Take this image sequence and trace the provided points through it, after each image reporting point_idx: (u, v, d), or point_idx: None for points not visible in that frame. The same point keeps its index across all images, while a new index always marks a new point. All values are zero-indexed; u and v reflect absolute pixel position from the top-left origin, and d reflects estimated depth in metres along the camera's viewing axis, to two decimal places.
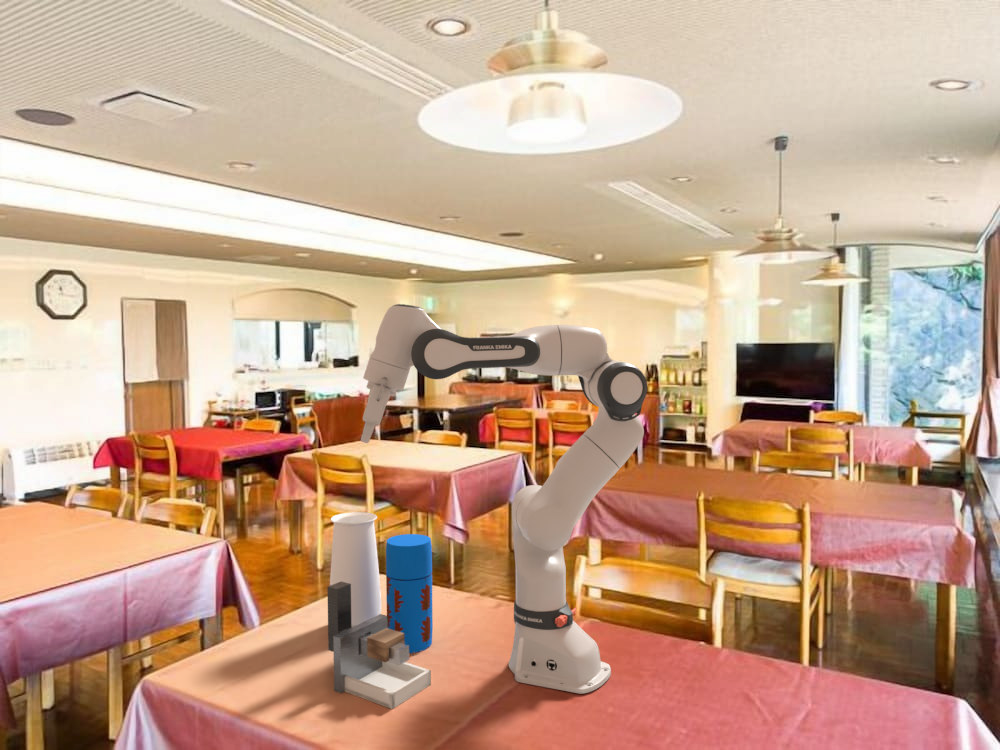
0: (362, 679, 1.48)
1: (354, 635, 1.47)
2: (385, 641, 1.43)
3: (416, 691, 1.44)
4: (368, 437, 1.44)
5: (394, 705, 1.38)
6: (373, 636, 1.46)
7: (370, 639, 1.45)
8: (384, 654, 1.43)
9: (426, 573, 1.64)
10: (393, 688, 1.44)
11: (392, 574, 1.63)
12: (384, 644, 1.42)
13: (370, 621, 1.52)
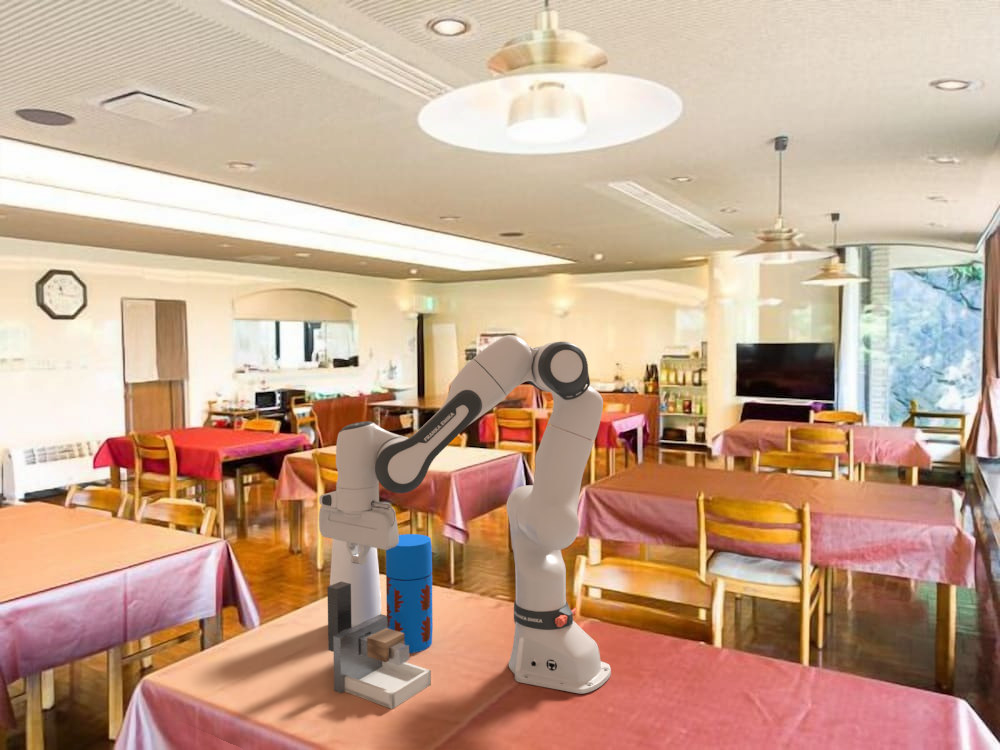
0: (362, 679, 1.48)
1: (354, 635, 1.47)
2: (385, 641, 1.43)
3: (416, 691, 1.44)
4: (364, 557, 1.49)
5: (394, 705, 1.38)
6: (373, 636, 1.46)
7: (370, 639, 1.45)
8: (384, 654, 1.43)
9: (426, 573, 1.64)
10: (393, 688, 1.44)
11: (392, 574, 1.63)
12: (384, 644, 1.42)
13: (370, 621, 1.52)
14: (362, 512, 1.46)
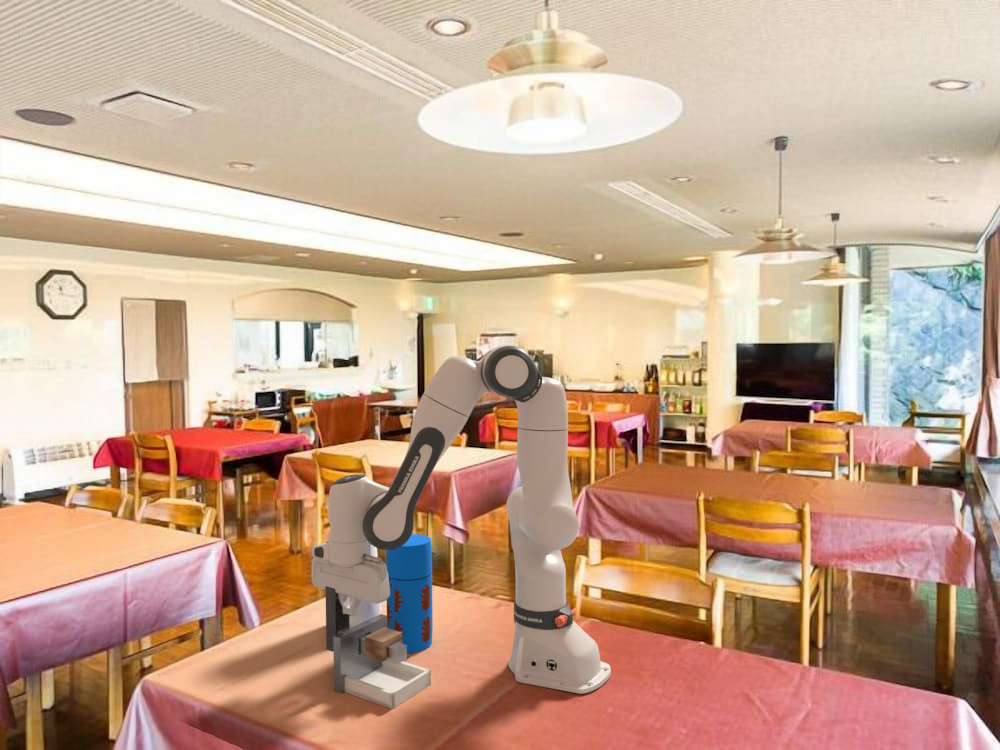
0: (362, 679, 1.48)
1: (354, 635, 1.47)
2: (383, 640, 1.43)
3: (416, 691, 1.44)
4: (356, 609, 1.51)
5: (394, 705, 1.38)
6: (371, 635, 1.46)
7: (368, 638, 1.45)
8: (382, 653, 1.43)
9: (426, 573, 1.64)
10: (393, 688, 1.44)
11: (393, 574, 1.63)
12: (381, 643, 1.43)
13: (370, 621, 1.52)
14: (354, 565, 1.48)
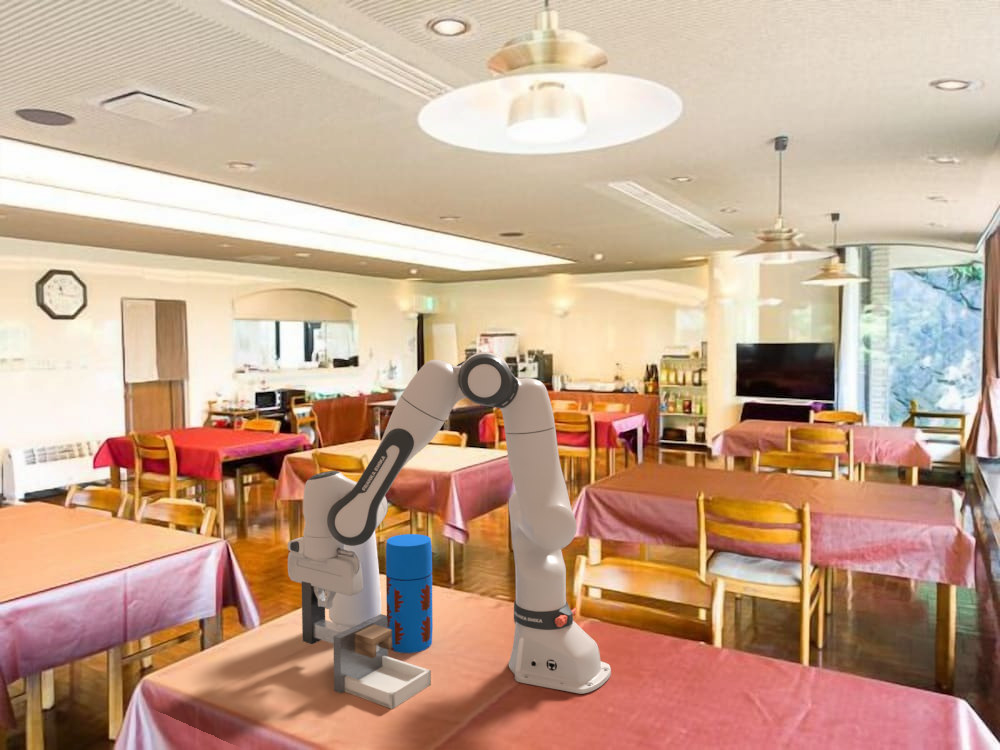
0: (362, 679, 1.48)
1: (354, 635, 1.47)
2: (372, 637, 1.45)
3: (416, 691, 1.44)
4: (331, 601, 1.55)
5: (394, 705, 1.38)
6: (361, 632, 1.47)
7: (358, 635, 1.47)
8: (371, 650, 1.44)
9: (426, 573, 1.64)
10: (393, 688, 1.44)
11: (392, 574, 1.63)
12: (371, 640, 1.44)
13: (370, 621, 1.52)
14: (328, 559, 1.52)
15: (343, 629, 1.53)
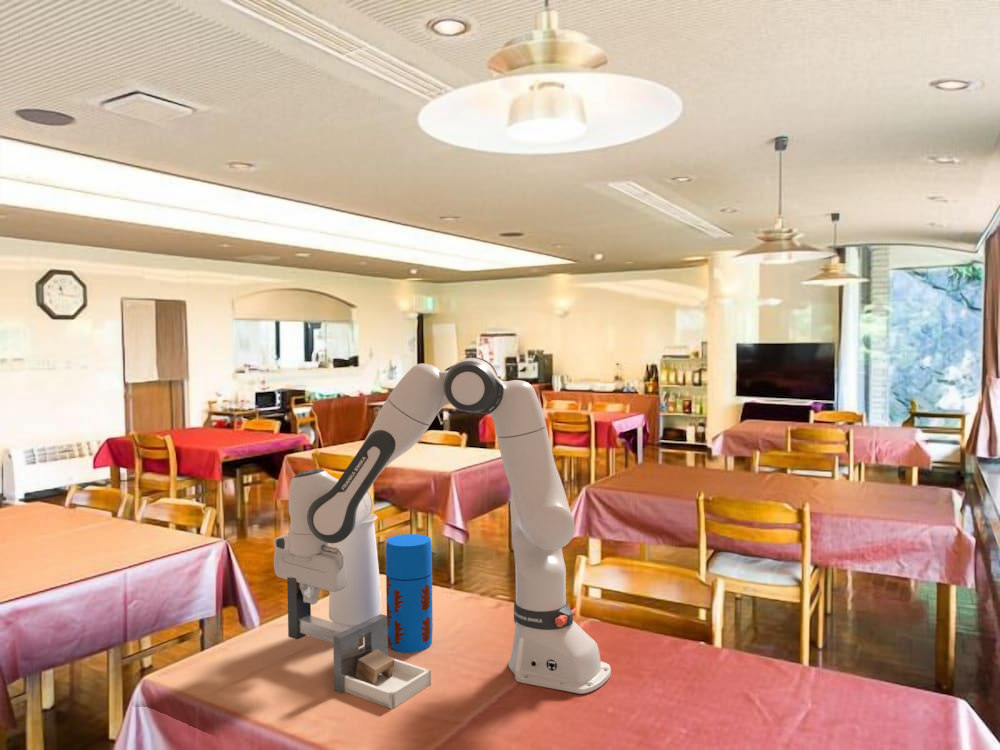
0: None
1: (354, 635, 1.47)
2: (375, 668, 1.45)
3: (416, 691, 1.44)
4: (315, 597, 1.58)
5: (394, 705, 1.38)
6: (364, 659, 1.47)
7: (361, 662, 1.46)
8: (372, 680, 1.45)
9: (426, 573, 1.64)
10: (393, 688, 1.44)
11: (392, 574, 1.63)
12: (374, 671, 1.44)
13: (370, 621, 1.52)
14: (313, 556, 1.55)
15: (328, 624, 1.56)
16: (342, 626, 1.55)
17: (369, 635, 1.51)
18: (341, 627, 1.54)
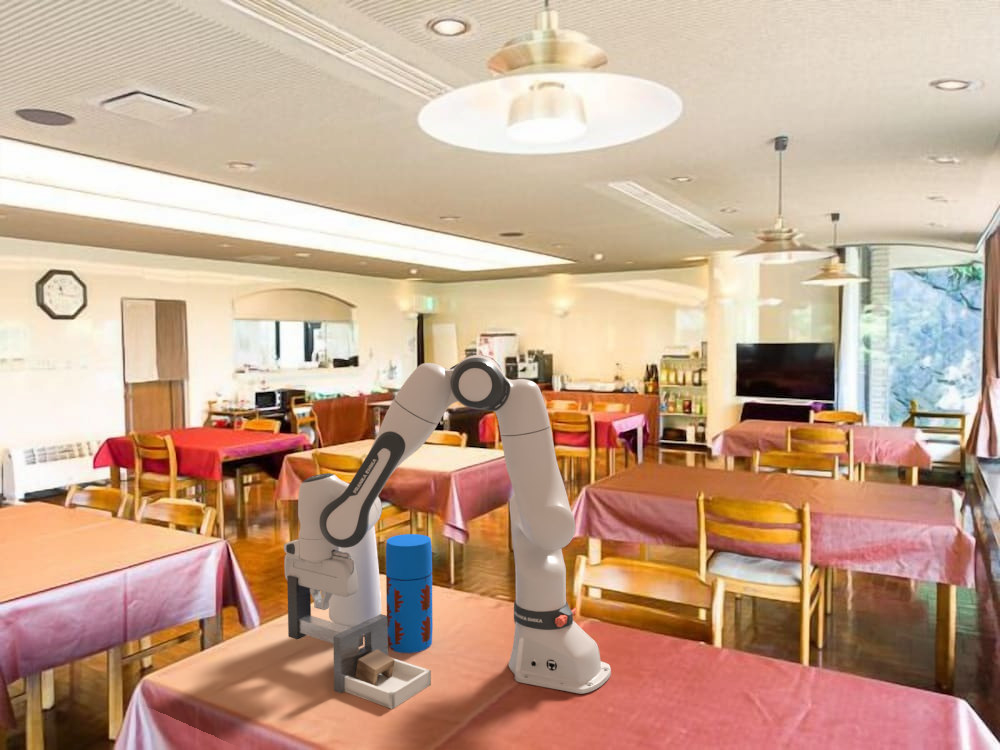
0: None
1: (354, 635, 1.47)
2: (375, 668, 1.45)
3: (416, 691, 1.44)
4: (327, 603, 1.57)
5: (394, 705, 1.38)
6: (364, 659, 1.47)
7: (361, 662, 1.46)
8: (372, 680, 1.45)
9: (426, 573, 1.64)
10: (393, 688, 1.44)
11: (392, 574, 1.63)
12: (374, 671, 1.44)
13: (370, 621, 1.52)
14: (323, 561, 1.53)
15: (328, 624, 1.56)
16: (342, 626, 1.55)
17: (369, 635, 1.51)
18: (341, 627, 1.54)
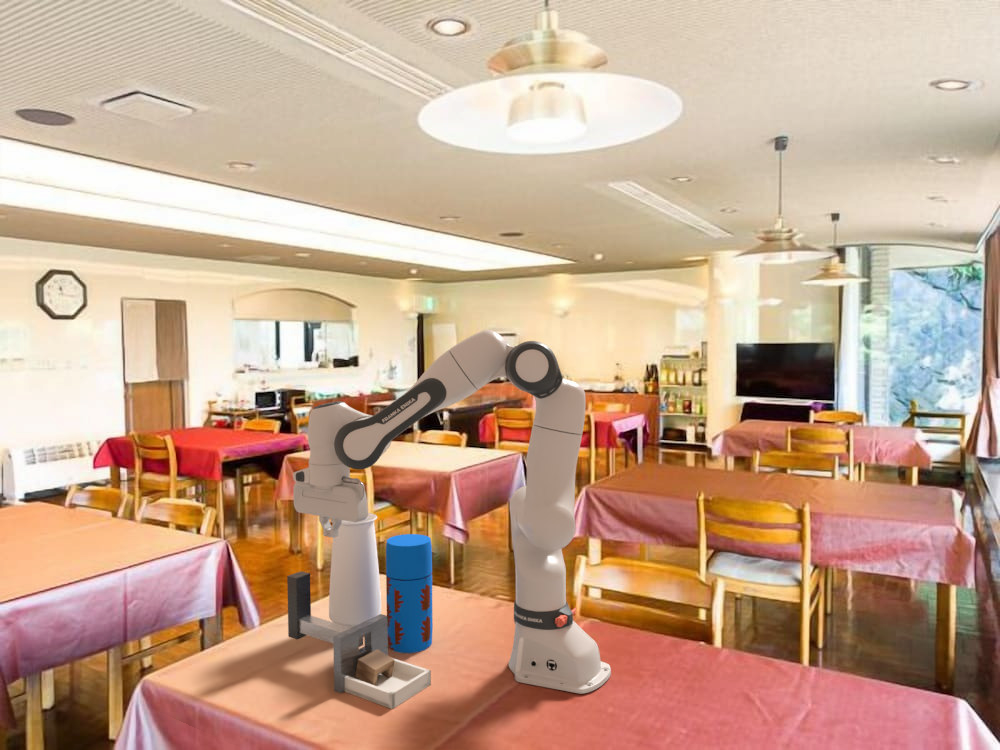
0: None
1: (354, 635, 1.47)
2: (375, 668, 1.45)
3: (416, 691, 1.44)
4: (336, 531, 1.56)
5: (394, 705, 1.38)
6: (364, 659, 1.47)
7: (361, 662, 1.46)
8: (372, 680, 1.45)
9: (426, 573, 1.64)
10: (393, 688, 1.44)
11: (392, 574, 1.63)
12: (374, 671, 1.44)
13: (370, 621, 1.52)
14: (333, 487, 1.53)
15: (328, 624, 1.56)
16: (342, 626, 1.55)
17: (369, 635, 1.51)
18: (341, 627, 1.54)
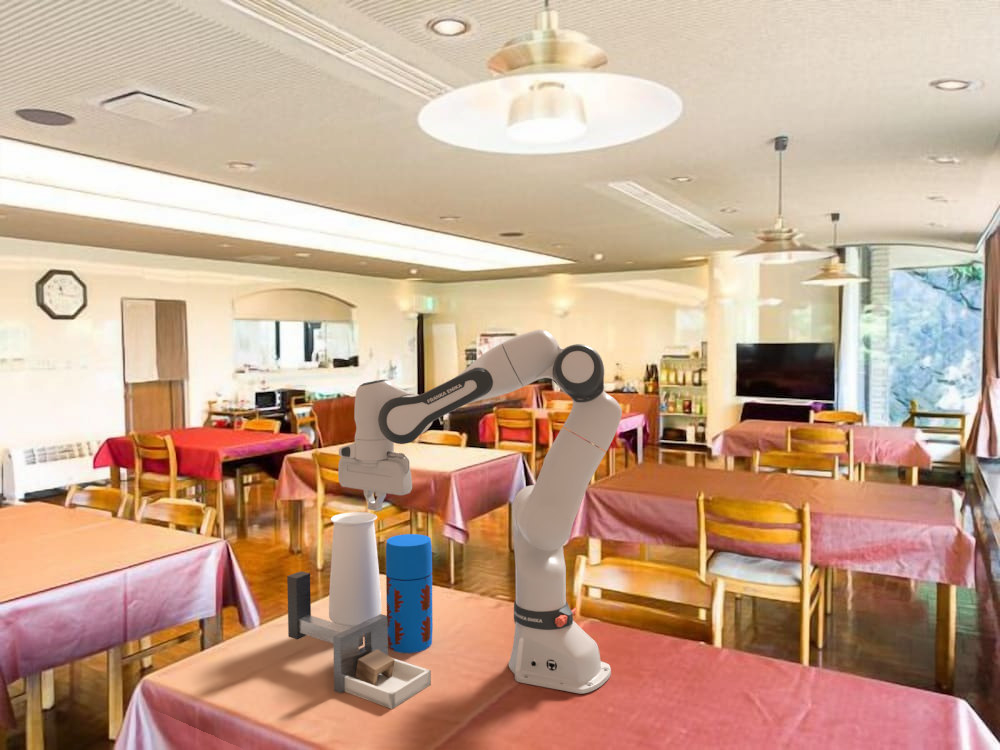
0: None
1: (354, 635, 1.47)
2: (375, 668, 1.45)
3: (416, 691, 1.44)
4: (380, 504, 1.62)
5: (394, 705, 1.38)
6: (364, 659, 1.47)
7: (361, 662, 1.46)
8: (372, 680, 1.45)
9: (426, 573, 1.64)
10: (393, 688, 1.44)
11: (392, 574, 1.63)
12: (374, 671, 1.44)
13: (370, 621, 1.52)
14: (378, 462, 1.59)
15: (328, 624, 1.56)
16: (342, 626, 1.55)
17: (369, 635, 1.51)
18: (341, 627, 1.54)
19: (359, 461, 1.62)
